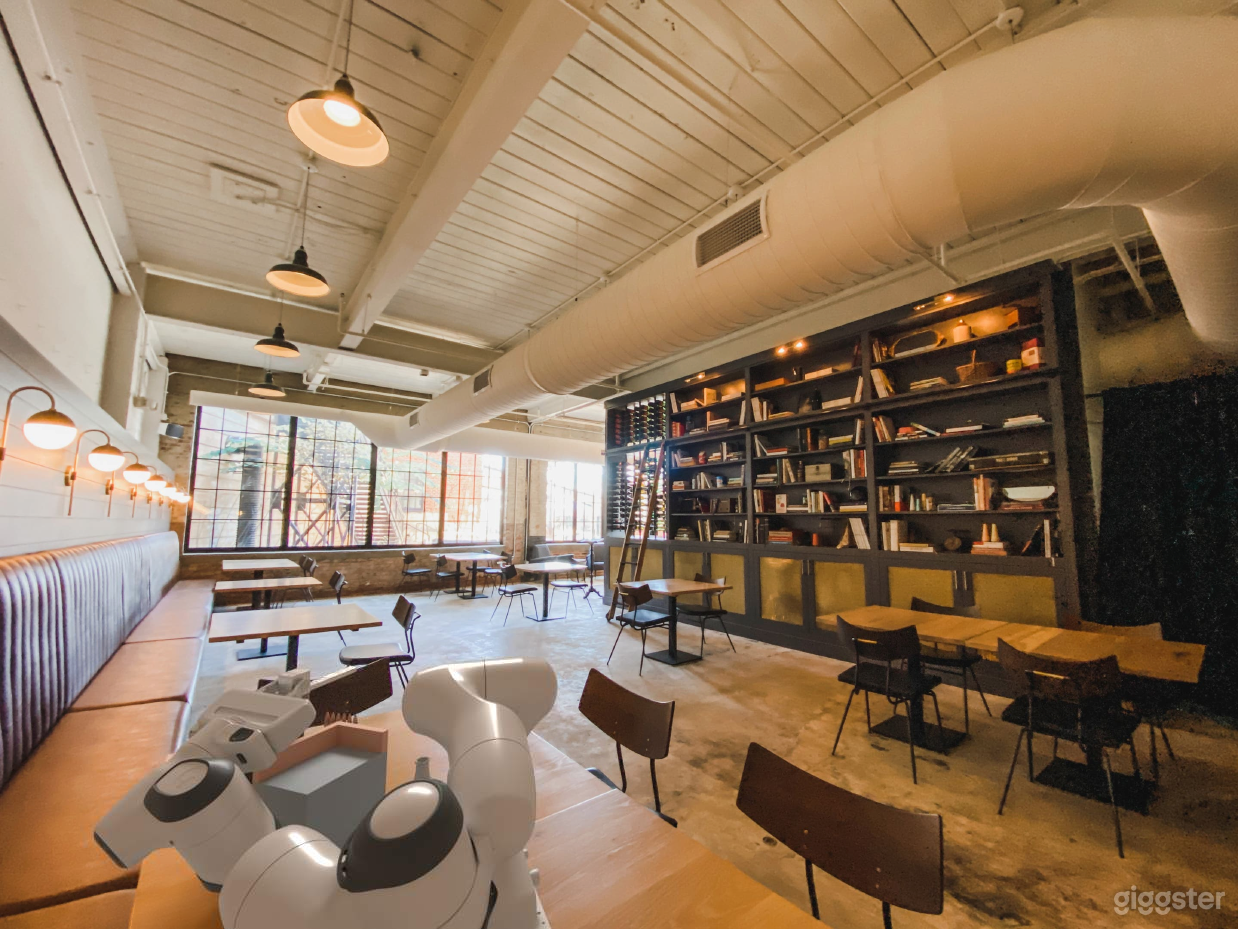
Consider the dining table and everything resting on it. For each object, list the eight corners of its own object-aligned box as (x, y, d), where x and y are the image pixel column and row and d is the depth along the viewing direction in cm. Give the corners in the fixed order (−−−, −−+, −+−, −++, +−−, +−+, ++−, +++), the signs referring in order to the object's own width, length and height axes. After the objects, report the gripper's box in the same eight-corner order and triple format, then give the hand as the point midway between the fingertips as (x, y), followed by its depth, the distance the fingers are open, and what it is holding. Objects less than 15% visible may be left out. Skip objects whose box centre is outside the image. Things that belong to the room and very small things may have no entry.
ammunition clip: (319, 759, 135) (321, 712, 136) (324, 756, 137) (327, 710, 138) (353, 763, 133) (356, 715, 134) (358, 760, 135) (361, 713, 136)
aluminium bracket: (292, 699, 90) (292, 676, 90) (278, 697, 91) (278, 674, 91) (359, 671, 103) (359, 651, 104) (346, 670, 105) (346, 650, 105)
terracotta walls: (307, 794, 87) (308, 769, 87) (252, 781, 91) (254, 758, 92) (387, 750, 104) (388, 729, 104) (337, 740, 108) (338, 721, 109)
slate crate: (301, 899, 85) (307, 794, 87) (245, 880, 89) (252, 781, 91) (383, 836, 102) (387, 750, 104) (333, 823, 106) (337, 740, 108)
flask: (426, 817, 108) (428, 768, 109) (396, 814, 110) (398, 765, 111) (444, 799, 115) (445, 753, 117) (415, 796, 117) (417, 750, 118)
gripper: (190, 750, 85) (264, 686, 97) (276, 770, 78) (344, 698, 90) (171, 723, 83) (249, 661, 95) (258, 741, 76) (330, 671, 88)
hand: (296, 679), depth 93 cm, fingers closed on aluminium bracket, 3 cm apart
